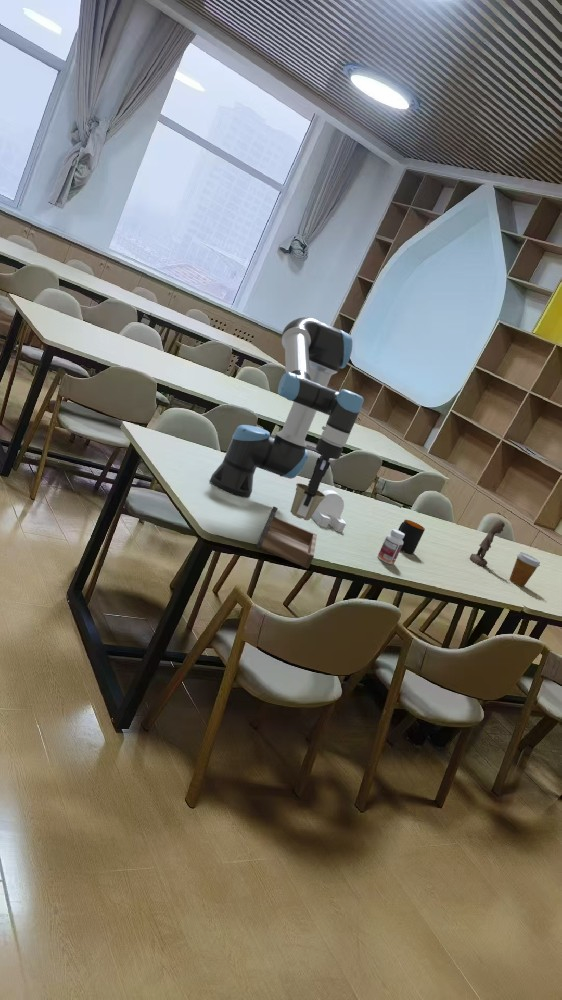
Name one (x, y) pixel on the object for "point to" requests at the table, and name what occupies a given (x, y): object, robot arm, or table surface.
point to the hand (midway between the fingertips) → (302, 511)
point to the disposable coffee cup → (523, 569)
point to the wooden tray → (287, 541)
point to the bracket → (330, 511)
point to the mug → (411, 535)
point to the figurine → (487, 544)
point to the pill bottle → (391, 547)
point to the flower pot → (299, 498)
